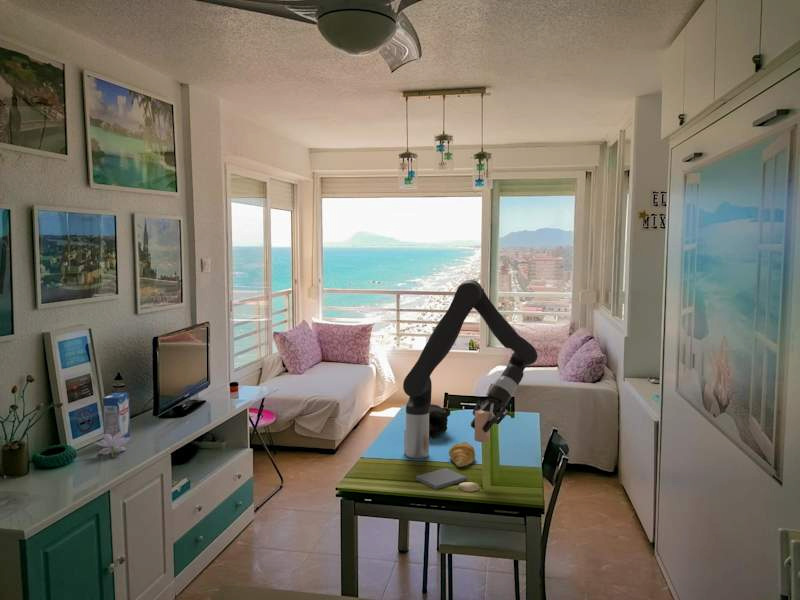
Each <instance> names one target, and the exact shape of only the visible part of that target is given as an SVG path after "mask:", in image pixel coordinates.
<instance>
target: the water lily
mask: <svg viewBox="0 0 800 600" xmlns="http://www.w3.org/2000/svg"><path fill="white" fill-rule="evenodd" d="M121 436H122V431H120V432H119V433H117V434H116V435H115V436H114V437H113V440H112V436H111V435H110V434H104V433H103V434H102V438H103V439H101V442H99V441H95V442H94V444H95V445H96V446H100V447H104V448H103V449H100V450H99V451H98V455H102V454H105V453H107V452H108V451H110V450H111V458H114V450H116V451H119V452H126V450H127V449H126V447H123V446H122V445H125V444H126V443H127V442H129V441H130V440H131V439H132V437H131V436H130V437H128V438H124V437H123V438H121ZM120 438H121V439H120Z"/></svg>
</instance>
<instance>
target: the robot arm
mask: <svg viewBox="0 0 800 600" xmlns="http://www.w3.org/2000/svg"><path fill="white" fill-rule="evenodd" d="M454 293H455V294H454V297H453V298H452V301H451V302H450V305H449V307H448V309H447V311H446V312H445V314H444V315H443V316H442V318H441V319H440V320H439V322H438V323H437V324H436V326H435V327H434V329H433V331H432V332H431V335H430V336H429V338H428V340H427V342H426V344H425V346H424V347H423V349H422V352H421V353H420V356H419V357H418V359H417V361H416V362H415V363H414V366H413V367H412V368H411V369H410V371H409V372H408V374H407V375H406V376H405V377H404V380H403V382H402V383H403V385H402V388H403V391H404V393H405V395H407V396H408V397H409V398H408V401H407V403H406V405H405V429H404V431H403V432H404V433H403V435H404V436H403V437H404V438H403V439H404V440H403V441H404V442H403V444H404V445H403V446H404V447H403V448H404V449H403V450H404V451H403V452H404V454H405V456H406V457H409V458H411V459H425V458H427V457H429V455H430V439H429V408H430V404H432V403H431V402H432V388H433V387H432V379H431V375H432V373H433V372H434V370H435V369H436V368H437V367H438V365H440V364H441V362H442V361H443V360H444V359H445V358H446V357H447V355H448V354H449V353H450V352H451V350H452V348H453V346H454V344H455V343H456V341H457V338H458V337H459V334H460V332H461V329H462V327H463V324H464V322H465V320H466V319H467V317H468V316H469V314H470V313H471V311H472V310H473V309H474V310H476V312H478V314H479V315H480V317H481V318H482V319H483V321H484V322H485V324H486V325H487V326H488V328H489V330H490V331H491V333H492V334H493V336H494V337H495V338H496V339H497V340H498V342H499V343H500V344H501V345H502V346H503V347H504V348H505V349H510V350H512V351H513V353H512V354H511V356H510V358H509V359H508V363H507V366H506V368H505V369H504V370H503V372H502V373H501V375H500V376H499V378H498V379H497V380H496V382H495V383H494V384H493V385H492V388H491V389H490V391H489V392H488V394H487V398H486V400H484V401H481V400H477V402H476V403H475V406H474V409H473V410H472V415H473V416H474V418H473V419H472V421H471V423H470V426H471V428H472V429H474V430H475V411H477V410H485V411H489V413H490V416H489V419H488V420H489V421H487V422H486V423H485V425H484V427H483V428H482V430H483V431H484V432H486V433H487V431H489V429H491V428H492V427H493V426H494V425H499V424H500V423H501V422H502V421H503V419H505V417H506V416H507V415H508V414H509V411H508V410H507V409H506V408H505V407H507V405H508V403H509V402H510V400H511V399H512V397H513V396H514V394H515V392H516V390H517V387H518V386H519V384H520V383H521V382H522V380H523V378H524V371H525V369H526V367H528V366H530V365H533V364H534V363H536V362H537V360H538V352H537V350H536V348H535V347H534V346H533V345H532V344H531V343H530V342H529V341H527V340H526V339H525V338H524V337H522V336H521V335H519V334H518V332H517V331H516V330H515V329H514V327H512V325H511V324H510V323H509V322H508V321H507V320H506V318H505V317H504V316H503V315H502V314H501V313H500V311H498V309H497V308H496V307H495V305H494V304H493V302H491V300H490V298H489V297H488V295H487V294H486V292H485V290H484V289H483V287H482V285H481V284H480V283H479V282H478V281H477V280H475V279H465V280H464V281H462V283H460V284H459V285H458V287H457V289H456V291H455V292H454ZM489 432H490V431H489Z"/></svg>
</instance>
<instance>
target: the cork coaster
mask: <svg viewBox="0 0 800 600" xmlns="http://www.w3.org/2000/svg"><path fill="white" fill-rule="evenodd" d="M458 489H459V490H461V491H463V492H468V493H469V492H473V493H474V492H476V491H479V490H480V484H478V483H476V482H472V481H469V482H468V481H466V482H465V481H462V482H459V483H458Z"/></svg>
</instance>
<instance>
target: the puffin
mask: <svg viewBox="0 0 800 600" xmlns="http://www.w3.org/2000/svg"><path fill="white" fill-rule="evenodd" d="M450 415H451V411H450V409H449V407H447V406H446V407H441V406H440V405H438V404H432V403H431V404H430V408H429V440H432V439H435V437H437V436H441V435H442V434H443V433H446V432H447V430H448V421H449V420H448V417H449V416H450Z"/></svg>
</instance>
